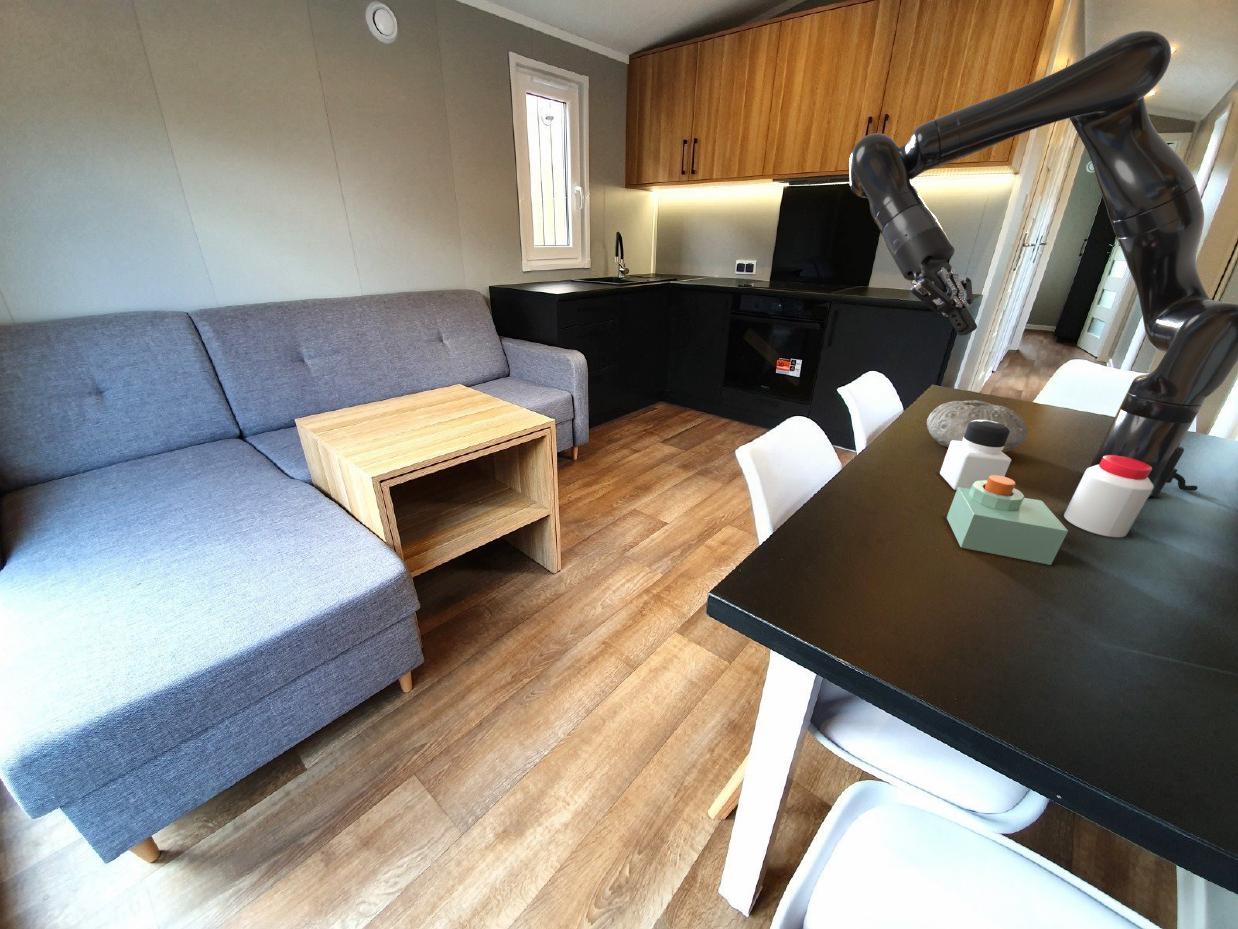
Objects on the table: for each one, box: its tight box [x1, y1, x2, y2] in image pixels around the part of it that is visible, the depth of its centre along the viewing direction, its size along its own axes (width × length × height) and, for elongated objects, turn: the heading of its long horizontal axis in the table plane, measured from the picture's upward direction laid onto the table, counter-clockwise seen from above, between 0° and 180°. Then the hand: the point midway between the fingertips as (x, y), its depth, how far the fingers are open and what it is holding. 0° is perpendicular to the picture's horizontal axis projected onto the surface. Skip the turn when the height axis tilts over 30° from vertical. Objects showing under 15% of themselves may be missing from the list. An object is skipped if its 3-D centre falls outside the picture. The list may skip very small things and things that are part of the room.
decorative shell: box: [926, 399, 1029, 454], centre depth 105 cm, size 18×18×10 cm
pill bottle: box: [1063, 455, 1154, 538], centre depth 76 cm, size 8×8×11 cm
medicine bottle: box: [939, 420, 1012, 491], centre depth 88 cm, size 7×7×12 cm
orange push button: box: [984, 475, 1016, 496], centre depth 72 cm, size 3×3×2 cm
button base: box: [946, 480, 1069, 566], centre depth 72 cm, size 11×9×8 cm
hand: (968, 332), depth 76 cm, fingers closed
